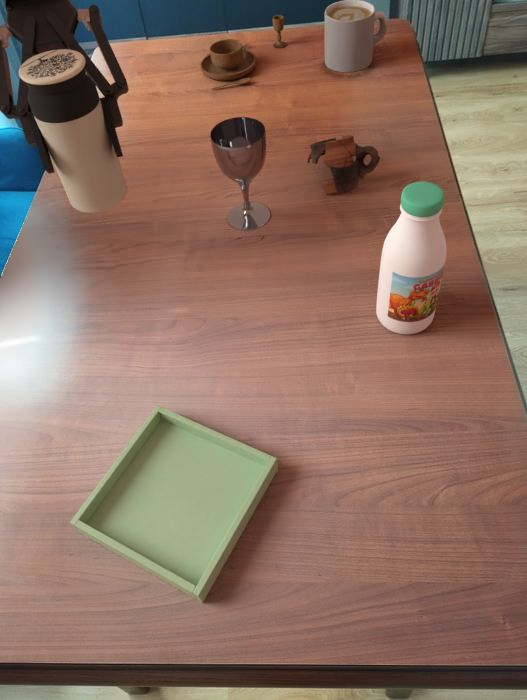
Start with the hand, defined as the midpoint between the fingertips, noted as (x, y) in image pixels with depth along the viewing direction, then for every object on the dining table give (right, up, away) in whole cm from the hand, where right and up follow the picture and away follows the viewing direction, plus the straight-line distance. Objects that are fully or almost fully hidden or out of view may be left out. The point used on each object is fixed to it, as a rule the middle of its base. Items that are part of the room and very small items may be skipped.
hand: (84, 162), depth 72 cm
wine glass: (+20, -1, +23) cm, 30 cm away
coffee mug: (+42, +38, +52) cm, 77 cm away
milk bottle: (+41, -18, +8) cm, 46 cm away
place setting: (+18, +38, +55) cm, 69 cm away
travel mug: (0, -2, +8) cm, 8 cm away
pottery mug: (+35, +6, +27) cm, 45 cm away
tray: (+13, -40, -7) cm, 42 cm away
